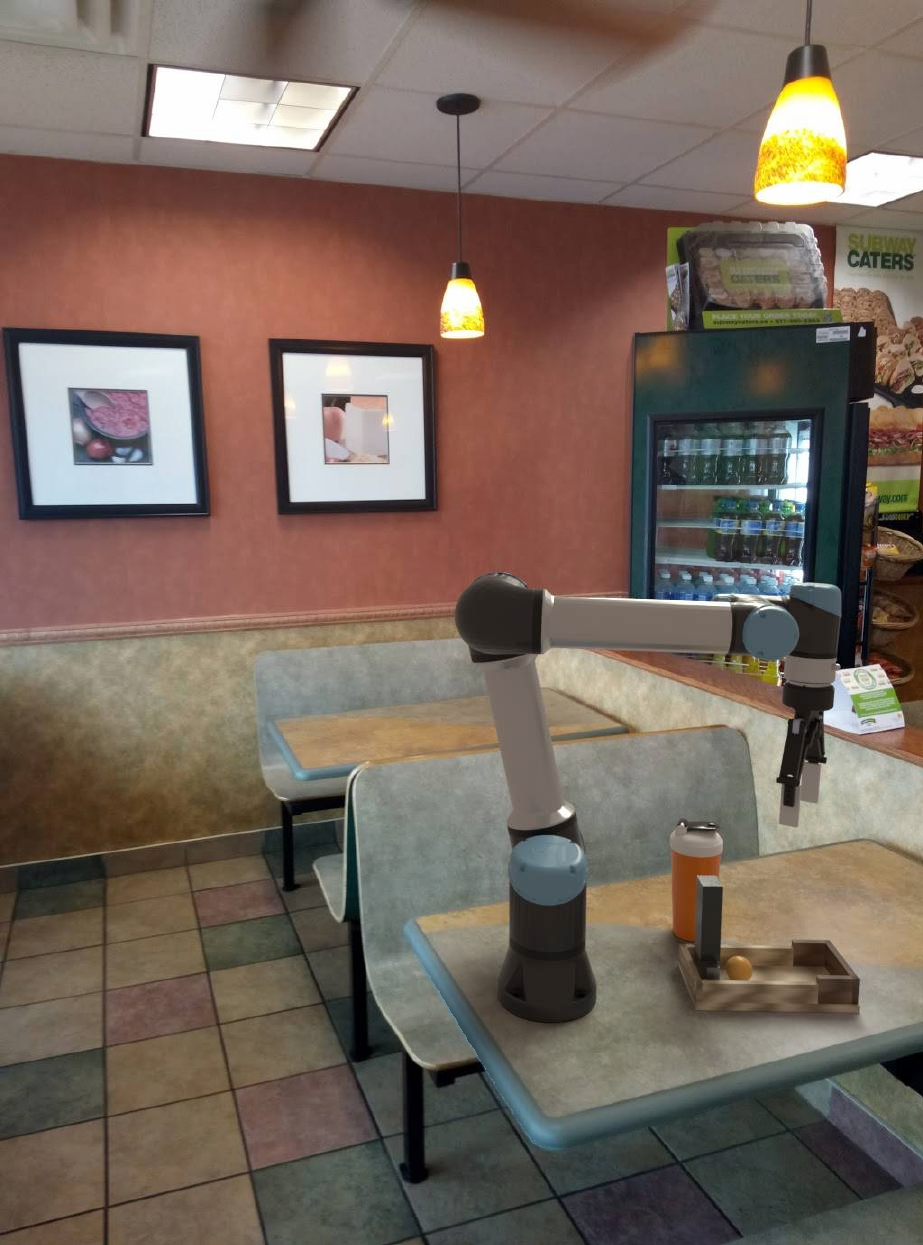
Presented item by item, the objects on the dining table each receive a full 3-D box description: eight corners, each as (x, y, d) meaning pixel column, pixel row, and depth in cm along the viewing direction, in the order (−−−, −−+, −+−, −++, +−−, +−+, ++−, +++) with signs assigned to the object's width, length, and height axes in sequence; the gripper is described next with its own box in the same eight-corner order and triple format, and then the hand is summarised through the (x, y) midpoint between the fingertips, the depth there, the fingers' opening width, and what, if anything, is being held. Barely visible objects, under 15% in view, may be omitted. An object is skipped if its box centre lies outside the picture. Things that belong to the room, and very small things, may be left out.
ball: (729, 988, 138) (730, 963, 137) (722, 974, 142) (723, 950, 141) (755, 988, 138) (756, 964, 137) (747, 975, 142) (748, 951, 141)
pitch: (696, 1010, 134) (697, 978, 133) (678, 965, 147) (679, 936, 146) (859, 1012, 133) (861, 981, 132) (826, 967, 146) (828, 938, 145)
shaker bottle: (721, 947, 153) (725, 834, 150) (667, 942, 154) (671, 830, 152) (717, 923, 161) (721, 816, 159) (666, 919, 163) (669, 813, 160)
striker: (702, 992, 136) (706, 892, 134) (691, 965, 144) (694, 870, 142) (722, 992, 136) (726, 892, 134) (709, 965, 144) (713, 870, 142)
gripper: (816, 699, 128) (805, 841, 131) (850, 673, 149) (840, 797, 151) (762, 692, 132) (753, 830, 135) (803, 667, 153) (794, 788, 155)
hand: (799, 813), depth 143 cm, fingers open, 13 cm apart
